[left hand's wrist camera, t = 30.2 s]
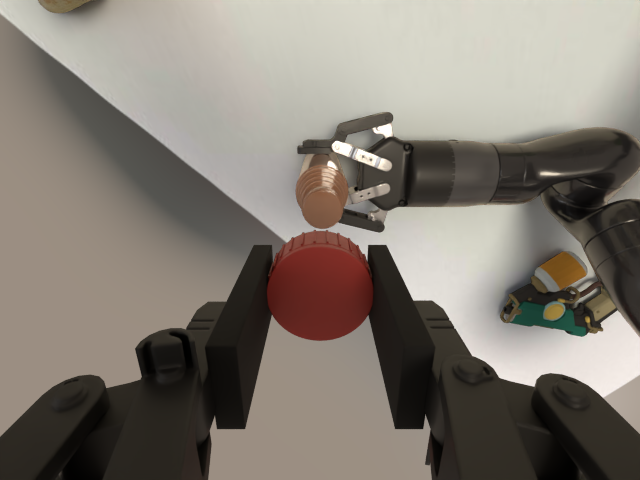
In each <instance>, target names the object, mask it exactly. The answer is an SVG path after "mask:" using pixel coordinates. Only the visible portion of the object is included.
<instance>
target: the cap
mask: <svg viewBox="0 0 640 480" xmlns="http://www.w3.org/2000/svg"><path fill="white" fill-rule="evenodd" d="M268 278H269V281H268V284H267V300H268V306H269V309H270V311H271V313H272V315H273V317H274V318H275V320H276V321H277V322H278V323H279V324H280V325H281V326H282V327H283V328H284V329H286V330H287V331H288V332H290V333H292V334H294V335H296V336H298V337H301V338H305V339H309V340H317V341H322V340H332V339H336V338H339V337H342V336H345V335H347V334H348V333H350V332H352V331H353V330H355V329H356V328H357V327H359V326H360V325H361V324H362V323H363V321H364V320H365V319H366V317H367V316H368V314H369V312H370V310H371V308H372V303H373V282H372V275H371V271H370V268H369V265H368V263H367V260H366V257H365V254H362V252H361V251H360V249H359V246H358V245H357V246H356V245H355V244H354V243H353V242H352V241H350V238H348V239H347V238H346V237H343V236H341V235H340V233H337V234H336V233H332V232H328V230H326V231H316V230H314V231H313V232H308V233H305V234H304V232H303V233H302V234H301V235H299V236H297V237H295V238H293V237H292V238H291V240H290V241H289V242H288V243H286V244H283V246H282V249H281V250H280V251H279V253H276V256H275V259H274V263H273V262H272V265H271V269H270V272H269V275H268Z"/></svg>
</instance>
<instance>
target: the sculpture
mask: <svg viewBox="0 0 640 480" xmlns="http://www.w3.org/2000/svg"><path fill="white" fill-rule="evenodd" d="M38 1H39V3H40V4H41V5H42V6H43V7H44V8H45V9H47V10H48V11H50V12H53V13H65V12H69V11H71V10H73V9H75V8H77V7H79V6H81V5H82V4H84V3H86V2H89V1H92V0H38ZM95 1H97V0H95Z"/></svg>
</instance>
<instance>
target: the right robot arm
mask: <svg viewBox="0 0 640 480" xmlns="http://www.w3.org/2000/svg"><path fill="white" fill-rule="evenodd" d="M392 121H393V115H392V114H391V113H389V112H382V113H378V114H374V115H370V116H366V117H363V118H359V119H355V120H351V121H347V122H344V123H340V124H339V125H338V127H337V130H336V133H335V135H334V137H333V138H332V139H329V140H306V141H303V146H298V147H297V150H298V154H331V152H336V153H339V154H342V155H344V156H347V157H350V158H352V159H354V160H357V161H358V165H357V166H358V171H359V174H358V177H357V185H355V186H353V187H350V188H348V190H349V191H348V199H347V202H346V205H349V204H356V203H359V202H362V201H365V200H369V201H370V202H372V203H373V204H374V205H376V206H377V207H379V209H378V210H376V211H369V212H368V214H364V213H360V212H356V211H352V210H347V209H344V208H343V214H342V216H341V219H340V220H339V221H338V222H339V223H342V224H346V225H350V226H354V227H358V228H363V229H367V230H371V231H375V232H382V231H383V230H384V228H385V226H384V220H385V217H386V214H387V211H389V210H392V209H394V208H396V207H467V206H474V205H517V204H524V203H528V202H530V201H532V200H533V199H535V198H536V197H538V196H539V195H541V200H542V202H543V205H544V206H545V208H546V209H547V210H548V211H549V212H550V213H551V214H552V215H553V216H554V217H555V218H556V219H557V220H558V221H559V222H560V223H561V224H562V225H563V226H564V227H565V228H566V229H567V231H569V232H570V233H571V234H572V235H573V236H574V237H575V238H576V239H577V240H578V241H579V242H580V243H581V245H582V247H583V249H584V251H585V254H586V256H587V258H588V260H589V262H590V264H591V265H592V267H593V269H594V271H595V273H596V275H597V277H598V279H599V281H600V283H601V285H602V286H603V288H604V290H605V292H606V293H607V295H608V296H609V298H610V299H611V301H612V302H613V304H614V305H615V306H616V308H617V309H618V311H619V312H620V313H621V315H622V316H623V317H624V319H625V320H626V321H627V322H628V324H629V325H630V326H631V327H632V329H633V330H634V331H635V332H636V333H637V335H638V336H639V337H640V199H626V200H620V201H616V202H613V203H610V204H608V203H607V202H608V201H609V200H610V199H611V198H612V197H613V196H614V195H615V194H616V193H617V192H618V191H619V190H620V189H621V188H622V187H623V186H624V185H625V184H626V183H627V182H629V181H630V180H631V179H632V178H633V177H634V176H635V175H636V174H637V172H638V171H639V170H640V141H639V140H638V139H636V138H635V137H634V136H633V135H631V134H629V133H627V132H624V131H621V130H618V129H614V128H606V127H593V128H583V129H578V130H573V131H569V132H565V133H561V134H557V135H553V136H549V137H545V138H540V139H537V140H533V141H530V142H526V143H521V144H520V143H480V142H474V141H458V140H449V141H403V140H400V139H398V138H396V137H394V136H393V131H392V124H391V122H392ZM371 128H372V131H373V132H374V133H376V134H382V135H383V136H384V138H383V139H381V140H380V141H379V142H377V143H376V144H374V145H373V146H372V147H370V148H369V149H367V150H365V149H362V148H360V147H357V146H354V145H351V144H348V143H346V142H345V140H346V137H347V135H348V134H352V133H356V132H360V131H364V130H368V129H371ZM358 190H359V191H358ZM361 195H362V196H361ZM346 205H345V206H346Z"/></svg>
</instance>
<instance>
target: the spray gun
mask: <svg viewBox="0 0 640 480" xmlns="http://www.w3.org/2000/svg"><path fill="white" fill-rule="evenodd" d="M586 275H587V267H586V265H585V264H584V262H583V261H582V260H581V259H580V258H579V257H578V256H577V255H575V254H574V253H572V252H568V251H563V252H561V253H560V254H558V255H556V256H555V257H553V258H552V259H550V260H549V261H547V262H545V263H544V264H542V265H541V266H539V267H538V268H537V269H536V270H535V275H534V276H532V277H531V284H528V285H526V286H524V287H522V288H521V289H519V290H517V291H515V292H513V293H512V294H509V295H508V296H509V297H510V298H509V300H508V302H507V304H506V305H505V307H504V308H503V311H502V312H501V315H500V318H501V320H502V321H503V322H504V323H514V324H519V325H524V326H533V325H535V326H541V327H546V328H552V329H553V328H555V329H560V330H565V331H566V332H567V333H568V334H571V335H576V336H581V337H582V336H585V335H587V333H588V332H590V333H594V334H595V333H597V332H598V331H603V328H602V327H601V324H600V323H601V322H602V321H603V320H605V319H606V318H608V317H609V316H610V315H612V314H613V313H614V312H616V311H617V310H618V309H617V308H616V306H615V305H614V304H613V302H612V301H611V299H610V298H609V296H608V295H607V293H606V292H605V290H604V288H603V286H602V285H601V283H600V281H598V282H595V283H593V284H592V285H590V286H589V287H588V288H587V289H585V290H584V291H582V292H579V291H578V290H577V289H575V288H573V287H572V286H570V287H568V288H567V289H566V291H562V289H563V288H565V287H567V286H569V285H571V284H572V283H574V282H576V281H578V280H579V279H581V278H583V277H585V276H586ZM598 286H600V287H602V288H601V294H600V295H598V296H597V297H595V298H594V299H592V300H590V301H589V302H587V303H586V304H585V305H584V304H581V303H579V306H578V307H577V308H574V309H570V308H569V303H571V304H572V303H575V302H576V301H577V300H578V299H579V298H581V297H583V296H585V295H587V294H588V293H590V292H591V291H593V290H594V289H595V288H596V287H598ZM570 290H573V291H574V292H575V293H576V294H571V293H570ZM538 291H540V292H538ZM570 299H573V300H570ZM512 300H513V301H512ZM511 301H512V302H513V303H511ZM504 314H507V315H506V319H507V320H505V319H504Z"/></svg>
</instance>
